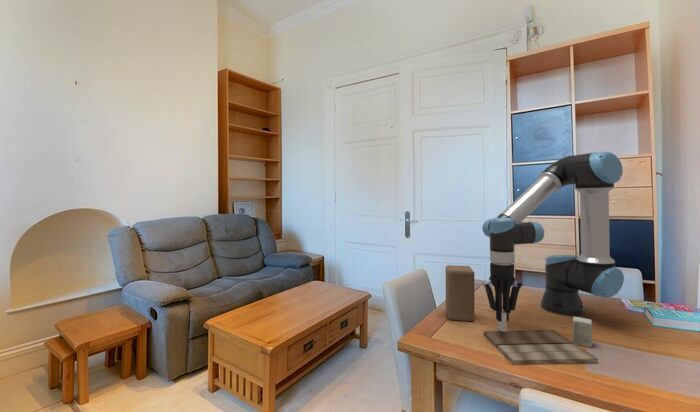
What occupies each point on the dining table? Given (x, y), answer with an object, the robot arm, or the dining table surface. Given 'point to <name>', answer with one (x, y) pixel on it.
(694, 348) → the dining table surface
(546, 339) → the plank
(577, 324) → the small box
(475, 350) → the dining table surface
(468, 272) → the wooden block
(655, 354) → the dining table surface
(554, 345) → the laid board
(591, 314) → the dining table surface
